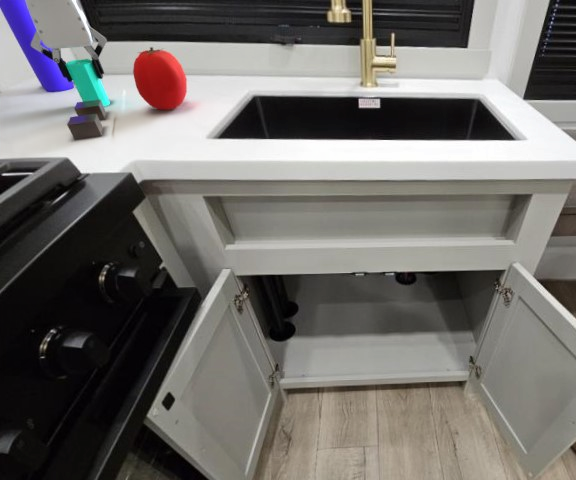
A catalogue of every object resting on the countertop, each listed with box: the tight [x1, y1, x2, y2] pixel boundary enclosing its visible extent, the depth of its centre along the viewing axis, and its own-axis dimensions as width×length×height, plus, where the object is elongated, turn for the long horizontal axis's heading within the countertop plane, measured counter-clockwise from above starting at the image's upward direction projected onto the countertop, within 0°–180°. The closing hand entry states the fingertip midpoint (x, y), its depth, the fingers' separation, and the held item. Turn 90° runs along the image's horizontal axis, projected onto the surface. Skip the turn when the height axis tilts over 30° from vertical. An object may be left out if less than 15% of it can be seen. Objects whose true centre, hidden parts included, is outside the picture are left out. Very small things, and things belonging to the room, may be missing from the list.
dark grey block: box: [66, 114, 104, 141], centre depth 68 cm, size 5×5×4 cm
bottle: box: [0, 0, 74, 93], centre depth 90 cm, size 8×8×30 cm
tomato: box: [132, 46, 188, 111], centre depth 79 cm, size 12×12×13 cm
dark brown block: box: [73, 100, 107, 121], centre depth 76 cm, size 5×5×4 cm
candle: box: [65, 55, 111, 107], centre depth 81 cm, size 6×6×12 cm
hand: (85, 78), depth 80 cm, fingers closed on candle, 6 cm apart
